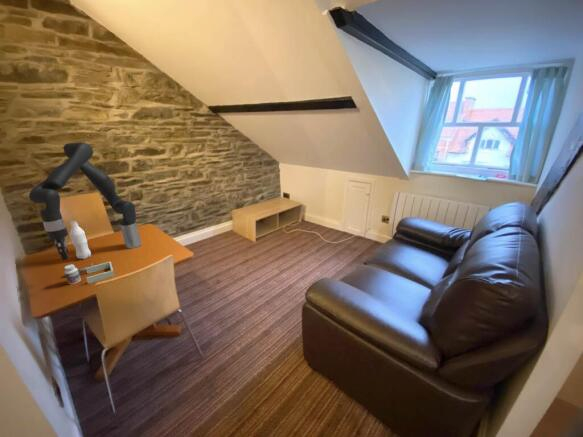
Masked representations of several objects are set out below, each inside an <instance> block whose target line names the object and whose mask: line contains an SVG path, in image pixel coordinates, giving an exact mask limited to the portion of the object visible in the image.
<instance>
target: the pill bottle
mask: <svg viewBox="0 0 583 437" xmlns="http://www.w3.org/2000/svg"><path fill="white" fill-rule="evenodd" d="M78 269H79V268H77V267H76V266H75V264H71V263H70V264H68V265H66V266H64V270H65V271H64V276H65V275H66V280H67V283H68V284H69V285H75V284H77V283H79V282H81V281H82V278H81V274H79V272H78Z"/></svg>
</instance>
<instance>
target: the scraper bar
mask: <svg viewBox="0 0 583 437" xmlns="http://www.w3.org/2000/svg"><path fill="white" fill-rule="evenodd" d="M92 266H95V265H94V263H93V262H91V263H90V266H86V267H81V268H77V269H78V272H79V275H81V274H85V273H87V271H86V268H88V267H92ZM64 276H65V277H64V278H66V275H65V274H64ZM66 279H67V278H66Z"/></svg>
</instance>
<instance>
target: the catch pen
mask: <svg viewBox="0 0 583 437" xmlns="http://www.w3.org/2000/svg"><path fill="white" fill-rule="evenodd" d="M87 267H88V268H86V267H85V268H86V271H87V272H86V273H87V275H88V274H92V273H95V272H99V271H103V270H106V269H110V270H108V271H106V272H101V273H98V274H95V275H91V276H87V277H86V280H87V284H91V283H96V282H98V281H102V280H105V279H108V278H109V279H110V278H113V277H115V276H116V275H115V272H114V268H113V265H112V261H107V262H103V263H99V264H96V265H94V266H92V267H90V266H87Z"/></svg>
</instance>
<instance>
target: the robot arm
mask: <svg viewBox="0 0 583 437" xmlns="http://www.w3.org/2000/svg"><path fill="white" fill-rule="evenodd" d="M63 152H64V154H65V156H66V157H67V160H65V161H64V162H63V163H61V164H60V165H58V166H57V167H56V168H54V169H53V170H52V171H51V172H50V173H49V174H48V175H47V177H46V178H45V179H44V180H43V181H41V182H40V183H38V184H37V185H36V186H33V188H32V189H31V190H30V191H29V195H28V197H29V200H30V201H31V202H33V203H34V204H45V207H44V208H41V209H40V211H39V214H40V217H41V220H42V222H43V227H44V230H45V234H46V236H47V238H48V239H50V240H54V244H55V248H56V250H57V252H58V255H60V258H61V260H62V261H66V260H69V257H68V254H69V249H68V246H67V238H66V237H67V236H68V235H69V231H68V229H67V226H66V223H65V220H64V218H63V215H62V212H61V197H60V194H59V193H58V191H60V190H61V189H63V188H64V187H65V186H66V185H67V183H68V182H69V180H70V179H71V177H72V176H74V174H76V172H77V171H78V170H80V171H81V172H82V173H83V174H84V175H85V177H87V179H88V180H89V181H90V182H91V184H92V185H93V186H94V187H95V188H96V189H97V191H99V193H100V194H101V195H102V196H103V197H104V199H105V200H106V201H107V202H108V204H109V206H110V207H111V209H112V210H113V211H114V212H115V213H116V214H120V215H122V218H121V219H120V220H119V225H120V230H121V234H122V237H123V242H124V246H125V248H127V249H136V248H138V247H141V246H142V242H141V237H140V233H139V230H138V224H137V222H136V221H137V213H136V206H135V205H134V203H133V202H132V201H130V200H129V201H128V200H124V199H122V198H120V197H119V195H118V194H117V192H116V187H115V183H114V182H113V180H112V179H111V178H110V176H109V175H108V174H107V172H105V171H103V170H102V169H100V168H98V167H97V166H95V165H94V164H92V163H91V162H90V161H89V160H90V159H91V158H93V155H94V150H93V148H92V146H91V145H90V144H88V143H86V142H78V141H77V142H69V143H65V144H64V145H63Z"/></svg>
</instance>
